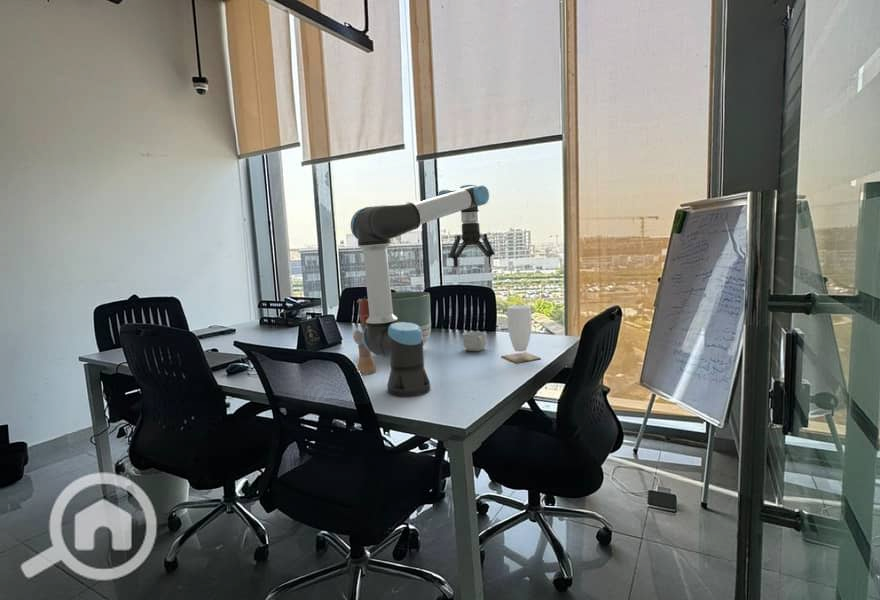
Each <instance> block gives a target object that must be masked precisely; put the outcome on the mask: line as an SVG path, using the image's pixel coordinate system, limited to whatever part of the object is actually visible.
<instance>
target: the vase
mask: <svg viewBox="0 0 880 600" xmlns="http://www.w3.org/2000/svg"><path fill="white" fill-rule="evenodd" d="M356 303H357V304H359V313H358V315H359V316H358V317H359V320H360V324H361V327H362V331H360V330H358V329H355V330H354V331H353V335H352V337H353V341H354V342H355V344H357V347H358V354H359V357H358V364H357V369H358V370H359V371H360V373H361V375H362V374H363V375H364V374H365V375H364V376H367V375H366V374H368V375H372V373H373V374H375V373H376V371H377V369H376V365H375V362H374V359H373V358H372V352H370V351H368V350H367V349H366V348H365V346H364V344H363V341H362V333H363V330H364V329H365V327H366V320H367V319H368V318H369V316H370V315H369V305H368V298H360V299H358V300H357V301H356ZM361 375H360V376H361Z"/></svg>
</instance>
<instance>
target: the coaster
mask: <svg viewBox="0 0 880 600" xmlns="http://www.w3.org/2000/svg"><path fill="white" fill-rule="evenodd" d="M501 358H502V359H504V360H506V361H509V362H511V363H513V364H521V363H527V362H532V361H539V360H542V358H541V357H539V356H536V355H534V354H531V353H529V352H527V351H522V352H519V353H518V352H517V353H511V354H505V355H501Z"/></svg>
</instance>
